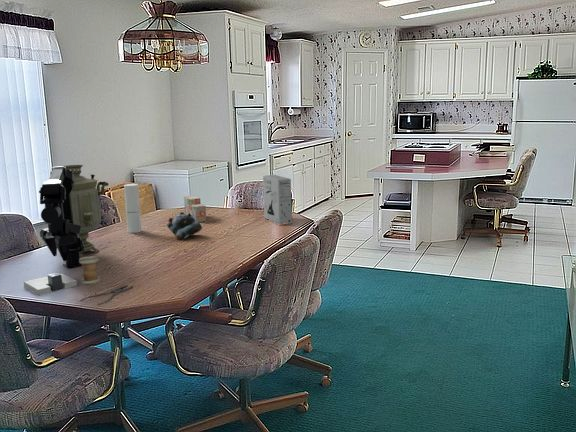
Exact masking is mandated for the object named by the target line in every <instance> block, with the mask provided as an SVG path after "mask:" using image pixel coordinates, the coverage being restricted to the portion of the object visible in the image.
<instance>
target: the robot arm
mask: <svg viewBox="0 0 576 432" xmlns="http://www.w3.org/2000/svg"><path fill="white" fill-rule="evenodd" d="M64 166H65V165H61V166H52V167H51V171H50V172H49V173H50V176H49V179H48V180H47V181H44V182H43V183H42V185H41V186H40V188H39V191H40V193H39V205H44V208H43V209H42V210H41V213H40V218H41V220H42V221H44V222H45V224H47V227H46V228H42V229H40V231H39V237H40V238H41V240H42V241H43V242H44V243H45V245H46V247H47V248H48V249H49V251H50V253H51V255H52V256H53V257H57V253H59V256H60V257H61V260H63V262H65V263H63V264H62V267H65V268H67V269H72V268H77V267H81V266H82V267H83V264H81V263H79V259H80V258H81V254H79V252H82V251H83V252H85V251H84V245H83V241H82V240H81V237H80V238H79V233H80V229H81V225H78V224H74V221H73V212H72V203H71V194H70V193H71V191H72V189H73V187H74V183H75V177H74V174H73V172H72V171H71V170H68V169H66V167H64ZM79 247H80V248H79ZM83 252H82V253H83Z"/></svg>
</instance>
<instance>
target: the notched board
mask: <svg viewBox="0 0 576 432" xmlns="http://www.w3.org/2000/svg"><path fill="white" fill-rule="evenodd" d="M59 274H61V276H62V285H63V289H64V290H65V289H70V288H74V287H77V286H78V285H77V284H78V283H77V280H75V279H73V278H71V277H70V276H68V275H65V274H63V273H61V272H60V273H59ZM23 286H24V288H26V289H27V290H29V291H31V292H33V293H35V294H36V295H38V296H40V295H45V294H49V293H51V292H52V291H51V287H50V286H49V284H48V275H47V276H43V277H38V278H34V279H30V280H25V281H23Z"/></svg>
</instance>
